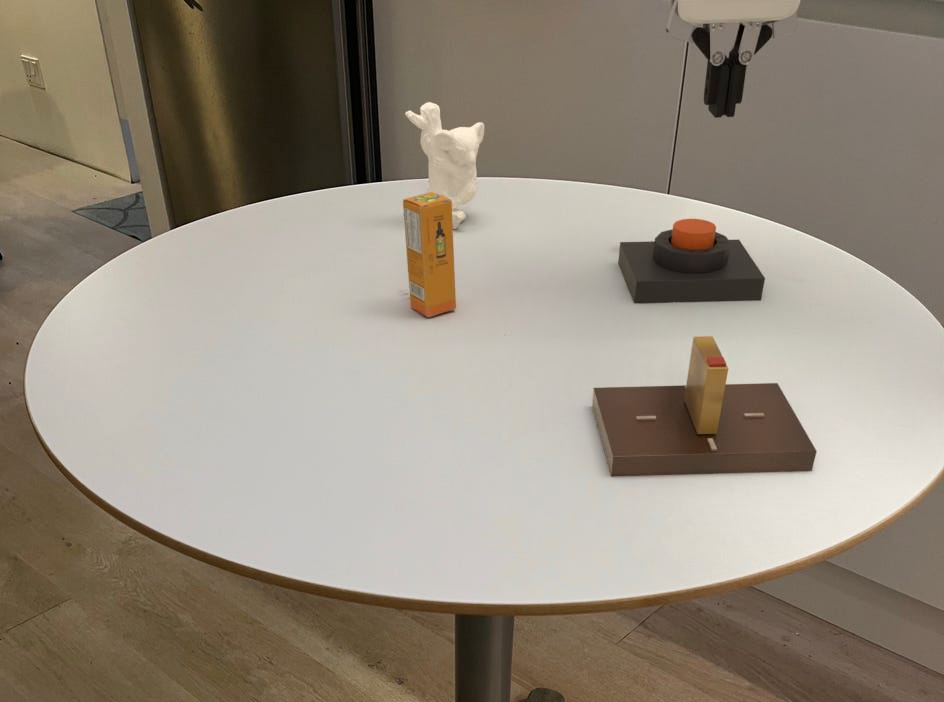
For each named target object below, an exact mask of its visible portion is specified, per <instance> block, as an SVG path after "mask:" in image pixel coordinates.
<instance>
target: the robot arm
mask: <svg viewBox="0 0 944 702" xmlns="http://www.w3.org/2000/svg"><path fill="white" fill-rule="evenodd" d="M801 1H802V0H668V3H669V8H670V9H671V10H670V13H669V17H668V20H667V24H666V27H665V32H666V34H667V36H669V37H670V38H672V39H676V40H679V41H683V42H687V43H692V44H694V45H695V46H696V47H697V49H698V50H699V51H700V52H701V54H702V55H703V56H704V57H705V59H706V60H707V63H706V70H705V71H706V73H705V82H704V90H703V103H704V105H705V106H708V107H707V109H708V112H709V113H710V114H711V115H712V116H713V118H715V119H718V118H719V119H720V118H722V117H724V116H726V118H734V117H735V113H736V108H737V107H736V106H737V104H738V105H739V104H740V105H741V104H742V101H743V96H744V88H745V81H746V75H747V67H748V66H747V65H749V64H750V63H751V62H752V61H753V59H754V56H755V55H756V54H757V53H758V52H759V51H760V50H761V49H762V48H764V46H765V45H766V44H767V43H768V42H769V41H770V40H773V39H779V38H781V37H784V36H787V35H791V34H793V33H795V31H797V29H798V26H799V25H798V9H799V7H800V4H801ZM732 23H733V24H734V23H737V26H736V30H735V34H734V38H733V41H732V45H731V50H730V51H729V52H728V56H727V54H726V24H732ZM701 24H702V25H701Z"/></svg>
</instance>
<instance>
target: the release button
mask: <svg viewBox="0 0 944 702" xmlns="http://www.w3.org/2000/svg"><path fill="white" fill-rule="evenodd" d="M672 229H673V230H672V238H671V244H672V245H674V246H676V247H678V248H684V249H690V250H699V249H708V248H711V247H713V245H714V239H715V232H717V226H716V224H715V223H714V222H712V221H709V220H706V219H701V218H683V219H678V220H676V221H675V222H674V223H673V224H672Z"/></svg>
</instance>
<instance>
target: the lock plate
mask: <svg viewBox="0 0 944 702" xmlns="http://www.w3.org/2000/svg"><path fill="white" fill-rule="evenodd" d="M685 391H686V385H683V384H681V385H651V386H650V385H647V386H646V385H645V386H643V385H642V386H608V387H607V386H606V387H605V386H604V387H593V391H592V392H593V393H592V404H591V408H592V412H593V415H594V418H595V422H596V426H597V430H598V433H599V437H600V441H601V445H602V448H603V451H604V455H605V459H606V463H607V466H608V470H609V474H610V477H612V478H613V477H642V476H643V477H644V476H645V477H646V476H678V475H679V476H680V475H682V476H683V475H713V474H714V475H715V474H716V475H719V474H752V473H755V474H756V473H788V472H789V473H793V472H812V471H813V467H814V464H815V460H816V456H817V451H818V450H817V449H816V448H815V446H814V444H813V442H812V440H811V439H810V436H809V435H808V433H807V432H806V430H805V428H804V426H803V425H802V423H801V421H800V420H799V417H798V416H797V414H796V413H795V411H794V408H793V407H792V405H791V404H790V402H789V400H788V399H787V397H786V395H785V393H784V392H783V390H782V388H781V387H780V385H779V383H778V382H765V383H764V382H763V383H726V385H725V390H724V396H723V402H722V407H721V413H720V419H719V424H718V430H717V434H697V432H696V429H695V427H694V424H693V421H692V419H691V416H690V414H689V411H688V409H687V406H686V404H685V401H684V398H685Z"/></svg>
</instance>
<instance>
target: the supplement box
mask: <svg viewBox="0 0 944 702" xmlns="http://www.w3.org/2000/svg"><path fill="white" fill-rule="evenodd" d="M402 206H403V220H404V222H403V223H404V236H405V249H406V264H407V275H408V287H409V299H410V300H409V301H410V302H409V303H410V307H411V309H412V310H414V311H416V312H417V313H419V314H421V315H422V316H424V317H426V318H432V317H435V316H437V315H441V314H443V313H447V312H452V311H455V310H456V308H457V301H456V299H457V298H456V297H457V296H456V274H455V251H454V249H455V247H454V229H453V223H452V200H451V199H449V198H446V197H444V196H442V195H439V194H436V193H433V192H429V193H427V192H425V193H422V194H418V195H413V196H411V197H406V198H403V200H402Z"/></svg>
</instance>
